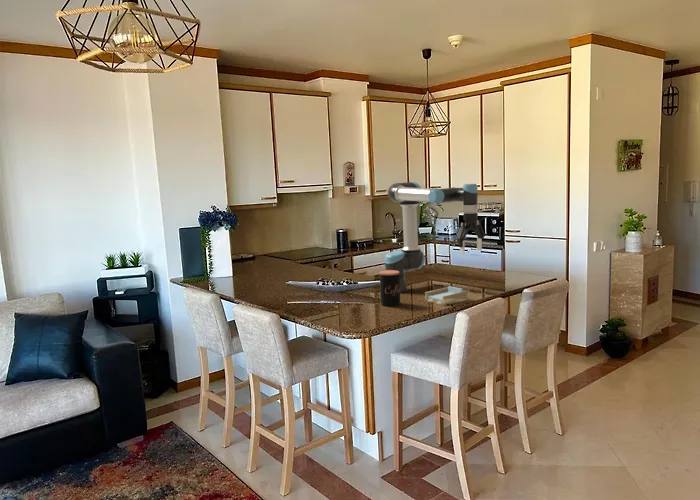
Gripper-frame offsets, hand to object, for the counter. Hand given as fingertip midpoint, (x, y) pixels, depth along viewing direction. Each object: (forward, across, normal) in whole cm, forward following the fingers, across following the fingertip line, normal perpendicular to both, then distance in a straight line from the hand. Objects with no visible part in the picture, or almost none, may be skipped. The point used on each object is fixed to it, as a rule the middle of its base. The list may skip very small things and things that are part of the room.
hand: (470, 251), depth 291 cm
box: (+27, -11, +9) cm, 30 cm away
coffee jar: (+27, -38, +24) cm, 52 cm away
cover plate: (+25, -11, +9) cm, 28 cm away
